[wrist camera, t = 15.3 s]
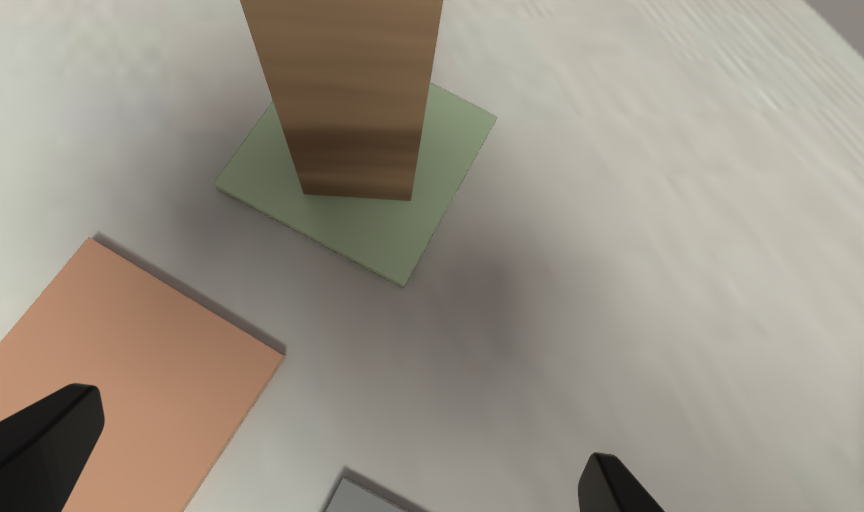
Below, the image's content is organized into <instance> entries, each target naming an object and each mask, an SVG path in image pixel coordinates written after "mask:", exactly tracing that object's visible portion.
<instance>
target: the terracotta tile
mask: <svg viewBox="0 0 864 512" xmlns="http://www.w3.org/2000/svg"><path fill="white" fill-rule="evenodd" d="M284 359H285V356H284V355H282V354H280V353H279V352H277V351H275V350H274V349H272V348H270V347H269V346H267V345H265V344H264V343H262V342H261V341H259V340H257V339H256V338H254V337H252V336H251V335H249V334H247V333H246V332H244V331H243V330H241V329H239V328H238V327H236V326H234V325H233V324H231V323H229V322H228V321H226V320H224V319H223V318H221V317H220V316H218V315H216V314H215V313H213V312H211V311H210V310H208V309H206V308H205V307H203V306H201V305H200V304H198V303H197V302H195V301H193V300H192V299H190V298H188V297H187V296H185V295H183V294H182V293H180V292H179V291H177V290H175V289H174V288H172V287H170V286H169V285H167V284H165V283H164V282H162V281H160V280H159V279H157V278H156V277H154V276H152V275H151V274H149V273H147V272H146V271H144V270H142V269H141V268H139V267H137V266H136V265H134V264H133V263H131V262H129V261H128V260H126V259H124V258H123V257H121V256H119V255H118V254H116V253H115V252H113V251H111V250H110V249H108V248H106V247H105V246H103V245H101V244H100V243H98V242H96V241H95V240H93V239H91V238H88V239H87V240H86V241H85V242H84V243H83V245H82V246H81V247H80V248H79V249H78V251H77V252H76V253H75V254H74V255H73V257H72V258H71V259H70V260H69V261H68V262H67V264H66V265H65V266H64V267H63V268H62V270H61V271H60V272H59V273H58V274H57V276H56V277H55V278H54V279H53V280H52V281H51V283H50V284H49V285H48V286H47V287H46V289H45V290H44V291H43V292H42V293H41V295H40V296H39V297H38V298H37V299H36V301H35V302H34V303H33V304H32V305H31V306H30V308H29V309H28V310H27V311H26V312H25V314H24V315H23V316H22V317H21V318H20V320H19V321H18V322H17V323H16V324H15V325H14V327H13V328H12V329H11V330H10V331H9V333H8V334H7V335H6V336H5V337H4V339H3V340H2V341H1V342H0V421H1V420H3V419H5V418H7V417H9V416H11V415H12V414H14V413H16V412H18V411H20V410H22V409H24V408H25V407H27V406H29V405H31V404H33V403H35V402H37V401H38V400H40V399H42V398H44V397H46V396H48V395H50V394H52V393H53V392H55V391H57V390H59V389H61V388H63V387H65V386H66V385H69V384H72V383H81V384H89V385H94V386H97V387H98V389H99V390H100V394H101V399H102V405H103V410H104V415H105V424H104V428H103V431H102V433H101V435H100V437H99V439H98V441H97V443H96V445H95V447H94V449H93V451H92V453H91V455H90V457H89V459H88V461H87V463H86V465H85V467H84V469H83V471H82V473H81V475H80V477H79V479H78V481H77V483H76V485H75V487H74V489H73V491H72V493H71V495H70V497H69V499H68V501H67V503H66V504H65V506H64V508H63V510H62V512H184V510H185V509H186V507H187V506H188V504H189V503H190V501H191V500H192V498H193V497H194V495H195V494H196V492H197V491H198V489H199V488H200V486H201V485H202V483H203V481H204V480H205V478H206V477H207V475H208V474H209V472H210V471H211V469H212V468H213V466H214V465H215V463H216V462H217V460H218V459H219V457H220V456H221V454H222V453H223V451H224V450H225V448H226V447H227V445H228V444H229V442H230V441H231V439H232V438H233V436H234V435H235V433H236V432H237V430H238V429H239V427H240V425H241V424H242V422H243V421H244V419H245V418H246V416H247V415H248V413H249V412H250V410H251V409H252V407H253V406H254V404H255V403H256V401H257V400H258V398H259V397H260V395H261V394H262V392H263V391H264V389H265V388H266V386H267V385H268V383H269V382H270V380H271V379H272V377H273V376H274V374H275V373H276V371H277V369H278V368H279V366H280V365H281V363H282V362H283V360H284Z"/></svg>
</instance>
